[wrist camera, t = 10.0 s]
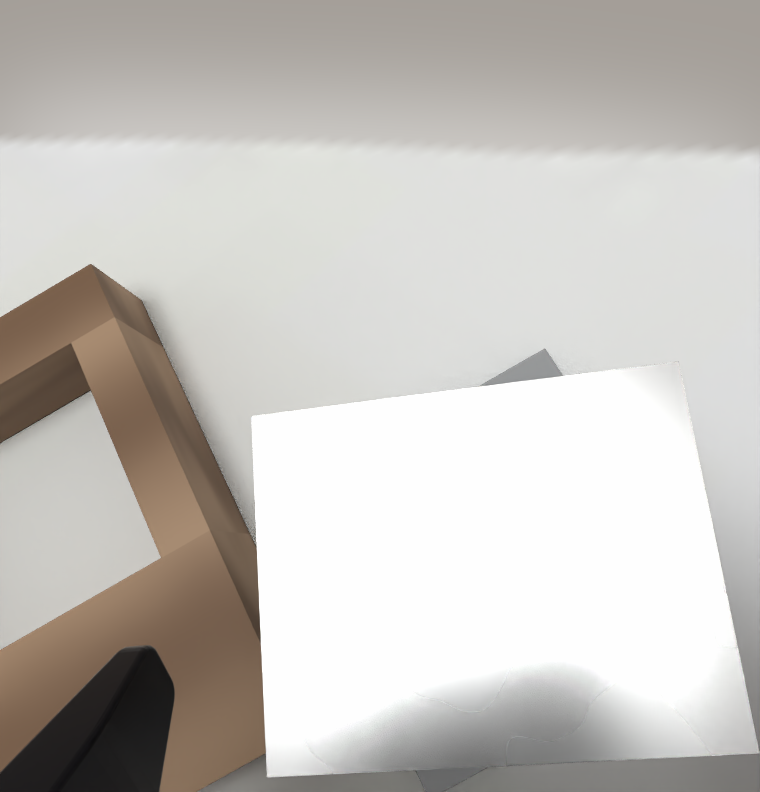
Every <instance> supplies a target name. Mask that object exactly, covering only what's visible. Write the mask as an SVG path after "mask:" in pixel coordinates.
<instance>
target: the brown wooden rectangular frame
mask: <svg viewBox="0 0 760 792" xmlns="http://www.w3.org/2000/svg"><path fill="white" fill-rule="evenodd" d="M90 390H91V391H92V394H93V396H94V399H95V401H96V403H97V406H98V408H99V411H100V413H101V415H102V418H103V420H104V422H105V425H106V427H107V430H108V432H109V434H110V437H111V439H112V442H113V444H114V446H115V449H116V451H117V454H118V456H119V458H120V461H121V463H122V465H123V468H124V470H125V473H126V475H127V477H128V480H129V482H130V485H131V487H132V489H133V492H134V494H135V497H136V499H137V501H138V504H139V506H140V508H141V511H142V513H143V516H144V518H145V520H146V523H147V525H148V528H149V530H150V532H151V535H152V537H153V540H154V542H155V544H156V547H157V549H158V551H159V554H160V556H161V558H160V559H159V560H157V561H155V562H153V563H152V564H150V565H148V566H147V567H145V568H143V569H141V570H140V571H138V572H136V573H134V574H133V575H131V576H129V577H127V578H126V579H124V580H122V581H120V582H119V583H117V584H115V585H113V586H112V587H110V588H108V589H106V590H105V591H103V592H101V593H99V594H98V595H96V596H94V597H92V598H91V599H89V600H87V601H85V602H84V603H82V604H80V605H78V606H77V607H75V608H73V609H71V610H70V611H68V612H66V613H64V614H63V615H61V616H59V617H57V618H56V619H54V620H52V621H50V622H49V623H47V624H45V625H43V626H42V627H40V628H38V629H36V630H35V631H33V632H31V633H29V634H28V635H26V636H24V637H22V638H21V639H19V640H17V641H15V642H14V643H12V644H10V645H8V646H7V647H5V648H3V649H1V650H0V772H1V771H2V770H3V769H4V768H5V767H6V766H7V765H8V763H9V762H10V761H11V760H12V759H13V758H14V757H15V756H16V755H17V754H18V753H19V752H20V751H21V750H22V749H23V748H24V747H25V746H26V745H27V744H28V743H29V742H30V741H31V740H32V739H33V738H34V737H35V736H36V735H37V734H38V733H39V732H40V731H41V730H42V729H43V728H44V727H45V726H46V725H47V724H48V723H49V722H50V721H51V719H52V718H53V717H54V716H55V715H56V714H57V713H58V712H59V711H60V710H61V709H62V708H63V707H64V706H65V705H66V704H67V703H68V702H69V701H70V700H71V699H72V698H73V697H74V696H75V695H76V694H77V693H78V692H79V691H80V690H81V689H82V688H83V687H84V686H85V685H86V684H87V683H88V682H89V681H90V680H91V679H92V678H93V677H94V675H95V674H96V673H97V672H98V671H99V670H100V669H101V668H102V667H103V666H104V665H105V664H106V663H107V662H108V661H109V660H110V659H111V658H112V657H113V656H114V655H115V654H116V653H117V652H118V651H120V650H121V649H123V648H125V647H130V646H142V645H150V646H152V647H154V648H155V649H156V651H157V652H158V654H159V656H160V658H161V660H162V662H163V664H164V665H165V667H166V669H167V671H168V673H169V675H170V677H171V678H172V681H173V684H174V689H175V699H174V706H173V712H172V718H171V724H170V730H169V736H168V742H167V748H166V754H165V760H164V766H163V772H162V779H161V785H160V791H159V792H197V791H199V790H200V789H202V788H204V787H206V786H208V785H209V784H211V783H213V782H215V781H217V780H218V779H220V778H222V777H224V776H226V775H227V774H229V773H231V772H233V771H235V770H236V769H238V768H240V767H242V766H244V765H245V764H247V763H249V762H251V761H253V760H254V759H256V758H258V757H260V756H261V755H263V754H265V753H266V742H265V719H264V696H263V673H262V651H261V628H260V605H259V582H258V559H257V548H256V546H255V544H254V542H253V540H252V538H251V535H250V533H249V531H248V529H247V527H246V525H245V522H244V520H243V518H242V516H241V514H240V512H239V510H238V507H237V505H236V503H235V501H234V499H233V497H232V494H231V492H230V490H229V488H228V486H227V484H226V482H225V479H224V477H223V475H222V473H221V471H220V469H219V466H218V464H217V462H216V460H215V458H214V456H213V454H212V451H211V449H210V447H209V445H208V443H207V441H206V438H205V436H204V434H203V432H202V430H201V428H200V426H199V423H198V421H197V419H196V417H195V415H194V413H193V410H192V408H191V406H190V404H189V402H188V400H187V398H186V395H185V393H184V391H183V389H182V387H181V385H180V382H179V380H178V378H177V376H176V374H175V372H174V370H173V367H172V365H171V363H170V361H169V359H168V357H167V355H166V352H165V350H164V348H163V346H162V344H161V342H160V339H159V337H158V335H157V333H156V331H155V329H154V327H153V324H152V322H151V320H150V318H149V316H148V314H147V311H146V309H145V307H144V305H143V303H142V301H141V299H139V298H138V297H136V296H135V295H134V294H132V293H131V292H129V291H128V290H127V289H125V288H124V287H122V286H121V285H120V284H118V283H117V282H115V281H114V280H113V279H111V278H110V277H108V276H107V275H106V274H104V273H103V272H102V271H100V270H99V269H97V268H96V267H95V266H93V265H92V264H90V265H88V266H86V267H85V268H83V269H81V270H80V271H78V272H76V273H74V274H73V275H71V276H69V277H68V278H66V279H64V280H63V281H61V282H59V283H58V284H56V285H54V286H52V287H51V288H49V289H47V290H46V291H44V292H42V293H41V294H39V295H37V296H36V297H34V298H32V299H30V300H29V301H27V302H25V303H24V304H22V305H20V306H19V307H17V308H15V309H14V310H12V311H10V312H9V313H7V314H5V315H3V316H2V317H0V443H1V442H2V441H4V440H6V439H7V438H9V437H11V436H13V435H14V434H16V433H18V432H19V431H21V430H23V429H25V428H26V427H28V426H30V425H31V424H33V423H35V422H36V421H38V420H40V419H42V418H43V417H45V416H47V415H48V414H50V413H52V412H54V411H55V410H57V409H59V408H60V407H62V406H64V405H66V404H67V403H69V402H71V401H72V400H74V399H76V398H78V397H79V396H81V395H83V394H84V393H86V392H88V391H90Z"/></svg>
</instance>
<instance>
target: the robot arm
mask: <svg viewBox="0 0 760 792" xmlns="http://www.w3.org/2000/svg"><path fill="white" fill-rule="evenodd" d="M174 699H175V689H174V684H173V681H172V678H171V677H170V675H169V673H168V671H167V669H166V667H165V665H164V664H163V662H162V660H161V658H160V656H159V654H158V652H157V651H156V649H155V648H154V647H152V646H150V645H142V646H130V647H125V648H123V649H121V650H120V651H118V652H117V653H116V654H115V655H114V656H113V657H112V658H111V659H110V660H109V661H108V662H107V663H106V664H105V665H104V666H103V667H102V668H101V669H100V670H99V671H98V672H97V673H96V674H95V675H94V677H93V678H92V679H91V680H90V681H89V682H88V683H87V684H86V685H85V686H84V687H83V688H82V689H81V690H80V691H79V692H78V693H77V694H76V695H75V696H74V697H73V698H72V699H71V700H70V701H69V702H68V703H67V704H66V705H65V706H64V707H63V708H62V709H61V710H60V711H59V712H58V713H57V714H56V715H55V716H54V717H53V718H52V719H51V721H50V722H49V723H48V724H47V725H46V726H45V727H44V728H43V729H42V730H41V731H40V732H39V733H38V734H37V735H36V736H35V737H34V738H33V739H32V740H31V741H30V742H29V743H28V744H27V745H26V746H25V747H24V748H23V749H22V750H21V751H20V752H19V753H18V754H17V755H16V756H15V757H14V758H13V759H12V760H11V761H10V762H9V763H8V765H7V766H6V767H5V768H4V769H3V770H2V771H1V772H0V792H159V791H160V785H161V779H162V772H163V766H164V760H165V754H166V748H167V742H168V736H169V730H170V724H171V718H172V712H173V706H174Z"/></svg>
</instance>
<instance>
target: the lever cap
mask: <svg viewBox="0 0 760 792" xmlns="http://www.w3.org/2000/svg"><path fill="white" fill-rule="evenodd" d="M251 422H252V445H253V468H254V491H255V513H256V536H257V559H258V582H259V605H260V628H261V651H262V673H263V696H264V719H265V742H266V765H267V777H286V776H306V775H327V774H347V773H368V772H388V771H409V770H430V769H450V768H471V767H491V766H512V765H532V764H553V763H573V762H594V761H614V760H635V759H655V758H676V757H696V756H717V755H738V754H758V753H760V752H759V747H758V743H757V738H756V733H755V728H754V723H753V718H752V714H751V709H750V704H749V699H748V694H747V689H746V685H745V680H744V675H743V670H742V665H741V660H740V655H739V651H738V646H737V641H736V636H735V631H734V626H733V622H732V617H731V612H730V607H729V602H728V597H727V593H726V588H725V583H724V578H723V573H722V568H721V564H720V559H719V554H718V549H717V544H716V539H715V535H714V530H713V525H712V520H711V515H710V510H709V505H708V501H707V496H706V491H705V486H704V481H703V476H702V472H701V467H700V462H699V457H698V452H697V447H696V443H695V438H694V433H693V428H692V423H691V418H690V414H689V409H688V404H687V399H686V394H685V389H684V384H683V380H682V375H681V370H680V365H679V361H678V362H670V363H662V364H654V365H646V366H639V367H631V368H623V369H615V370H607V371H600V372H592V373H584V374H576V375H568V376H561V377H553V378H545V379H537V380H529V381H522V382H514V383H506V384H498V385H490V386H483V387H475V388H467V389H459V390H451V391H444V392H436V393H428V394H420V395H412V396H405V397H397V398H389V399H381V400H373V401H366V402H358V403H350V404H342V405H334V406H327V407H319V408H311V409H303V410H295V411H288V412H280V413H272V414H264V415H256V416H251Z"/></svg>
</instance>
